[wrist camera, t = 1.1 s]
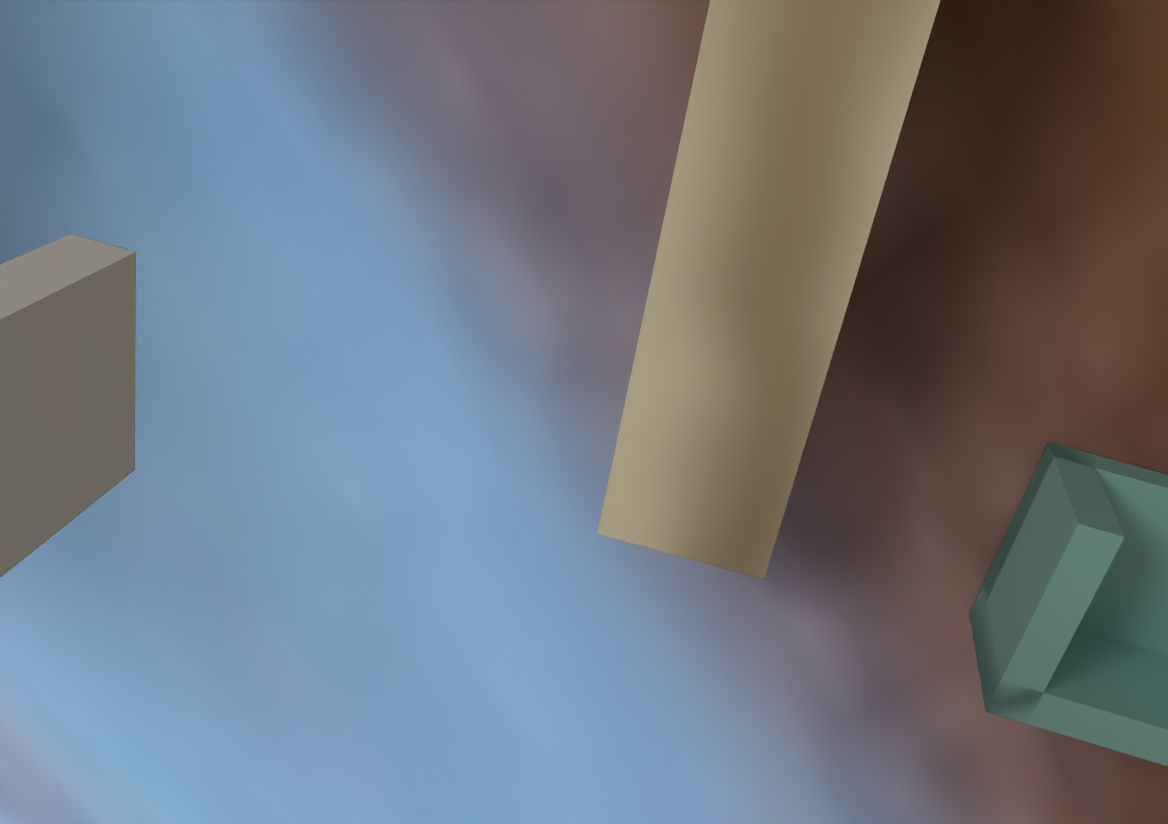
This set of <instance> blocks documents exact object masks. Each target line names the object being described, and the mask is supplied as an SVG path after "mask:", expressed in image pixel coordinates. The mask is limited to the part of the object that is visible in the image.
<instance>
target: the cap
mask: <svg viewBox="0 0 1168 824" xmlns="http://www.w3.org/2000/svg"><path fill="white" fill-rule="evenodd" d="M969 615H970V621H971V627H972V633H973V639H974V645H975V650H976V656H977V662H978V668H979V674H980V680H981V686H982V692H983V698H984V704H985V710H986V712H989V713H993V714H996V715H999V716H1003V717H1006V718H1009V719H1012V720H1016V721H1019V722H1022V723H1026V724H1029V725H1032V726H1036V727H1039V728H1042V729H1046V730H1049V731H1052V732H1056V733H1059V734H1062V735H1066V736H1069V737H1072V738H1076V739H1079V740H1082V741H1086V742H1089V743H1092V744H1096V745H1099V746H1102V747H1106V748H1109V749H1112V750H1116V751H1119V752H1122V753H1125V754H1129V755H1132V756H1135V757H1139V758H1142V759H1145V760H1149V761H1152V762H1155V763H1159V764H1162V765H1165V766H1168V475H1167V474H1163V473H1160V472H1156V471H1152V470H1149V469H1145V468H1141V467H1138V466H1134V465H1130V464H1127V463H1123V462H1119V461H1116V460H1112V459H1108V458H1105V457H1101V456H1097V455H1094V454H1090V453H1086V452H1083V451H1079V450H1075V449H1072V448H1068V447H1065V446H1061V445H1057V444H1054V443H1050V442H1048V444H1047V446H1046V449H1045V451H1044V453H1043V455H1042V457H1041V459H1040V462H1039V464H1038V466H1037V468H1036V470H1035V473H1034V475H1033V477H1032V479H1031V481H1030V483H1029V486H1028V488H1027V490H1026V492H1025V494H1024V496H1023V499H1022V501H1021V503H1020V505H1019V507H1018V510H1017V512H1016V514H1015V516H1014V518H1013V520H1012V523H1011V525H1010V527H1009V529H1008V531H1007V534H1006V536H1005V538H1004V540H1003V542H1002V544H1001V547H1000V549H999V551H998V553H997V555H996V557H995V560H994V562H993V564H992V566H991V568H990V571H989V573H988V575H987V577H986V579H985V581H984V584H983V586H982V588H981V590H980V592H979V595H978V597H977V599H976V601H975V603H974V605H973V608H972V610H971V612H970V614H969Z"/></svg>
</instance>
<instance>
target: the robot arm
mask: <svg viewBox="0 0 1168 824" xmlns="http://www.w3.org/2000/svg"><path fill="white" fill-rule="evenodd" d="M135 299H136V252H134V251H131V250H127V249H124V248H120V247H116V246H113V245H109V244H106V243H102V242H98V241H95V240H91V239H88V238H84V237H80V236H77V235H73V234H69V235H67V236H64V237H62V238H60V239H57V240H55V241H53V242H51V243H48V244H46V245H44V246H41V247H39V248H37V249H34V250H32V251H30V252H28V253H25V254H23V255H21V256H18V257H16V258H14V259H11V260H9V261H7V262H5V263H2V264H0V578H1V577H2V576H3V575H4V574H6V573H7V572H8V571H9V570H11V569H12V568H13V567H14V566H16V565H17V564H18V563H19V562H20V561H22V560H23V559H24V558H25V557H27V556H28V555H29V554H30V553H32V552H33V551H34V550H35V549H37V548H38V547H39V546H40V545H42V544H43V543H44V542H45V541H47V540H48V539H49V538H50V537H52V536H53V535H54V534H55V533H57V532H58V531H59V530H60V529H62V528H63V527H64V526H65V525H67V524H68V523H69V522H70V521H72V520H73V519H74V518H75V517H77V516H78V515H79V514H80V513H81V512H83V511H84V510H85V509H86V508H88V507H89V506H90V505H91V504H93V503H94V502H95V501H96V500H98V499H99V498H100V497H101V496H103V495H104V494H105V493H106V492H108V491H109V490H110V489H111V488H113V487H114V486H115V485H116V484H118V483H119V482H120V481H121V480H123V479H124V478H125V477H126V476H128V475H129V474H130V473H131V472H133V471H134V470H135Z"/></svg>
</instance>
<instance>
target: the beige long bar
mask: <svg viewBox="0 0 1168 824" xmlns="http://www.w3.org/2000/svg"><path fill="white" fill-rule="evenodd" d="M939 3H940V0H710V4H709V8H708V13H707V18H706V23H705V27H704V32H703V37H702V41H701V46H700V51H699V56H698V60H697V65H696V70H695V74H694V79H693V84H692V89H691V93H690V98H689V103H688V108H687V112H686V117H685V122H684V126H683V131H682V136H681V141H680V145H679V150H678V155H677V159H676V164H675V169H674V174H673V178H672V183H671V188H670V192H669V197H668V202H667V207H666V211H665V216H664V221H663V226H662V230H661V235H660V240H659V244H658V249H657V254H656V259H655V263H654V268H653V273H652V277H651V282H650V287H649V292H648V296H647V301H646V306H645V310H644V315H643V320H642V325H641V329H640V334H639V339H638V343H637V348H636V353H635V358H634V362H633V367H632V372H631V377H630V381H629V386H628V391H627V395H626V400H625V405H624V410H623V414H622V419H621V424H620V428H619V433H618V438H617V443H616V447H615V452H614V457H613V461H612V466H611V471H610V476H609V480H608V485H607V490H606V495H605V499H604V504H603V509H602V513H601V518H600V523H599V528H598V532H597V534H599V535H603V536H607V537H610V538H614V539H618V540H622V541H625V542H629V543H633V544H636V545H640V546H644V547H647V548H651V549H655V550H658V551H662V552H666V553H669V554H673V555H677V556H681V557H684V558H688V559H692V560H695V561H699V562H703V563H706V564H710V565H714V566H717V567H721V568H725V569H729V570H732V571H736V572H740V573H743V574H747V575H751V576H754V577H758V578H762V579H764V578H765V575H766V572H767V569H768V565H769V562H770V559H771V555H772V552H773V549H774V546H775V542H776V539H777V536H778V532H779V529H780V526H781V523H782V519H783V516H784V513H785V509H786V506H787V503H788V499H789V496H790V493H791V490H792V486H793V483H794V480H795V476H796V473H797V470H798V467H799V463H800V460H801V457H802V453H803V450H804V447H805V444H806V440H807V437H808V434H809V430H810V427H811V424H812V421H813V417H814V414H815V411H816V407H817V404H818V401H819V398H820V394H821V391H822V388H823V384H824V381H825V378H826V375H827V371H828V368H829V365H830V361H831V358H832V355H833V352H834V348H835V345H836V342H837V338H838V335H839V332H840V329H841V325H842V322H843V319H844V315H845V312H846V309H847V306H848V302H849V299H850V296H851V292H852V289H853V286H854V283H855V279H856V276H857V273H858V269H859V266H860V263H861V260H862V256H863V253H864V250H865V246H866V243H867V240H868V237H869V233H870V230H871V227H872V223H873V220H874V217H875V214H876V210H877V207H878V204H879V200H880V197H881V194H882V191H883V187H884V184H885V181H886V177H887V174H888V171H889V167H890V164H891V161H892V158H893V154H894V151H895V148H896V144H897V141H898V138H899V135H900V131H901V128H902V125H903V121H904V118H905V115H906V112H907V108H908V105H909V102H910V98H911V95H912V92H913V89H914V85H915V82H916V79H917V75H918V72H919V69H920V66H921V62H922V59H923V56H924V52H925V49H926V46H927V43H928V39H929V36H930V33H931V29H932V26H933V23H934V20H935V16H936V13H937V10H938V6H939Z"/></svg>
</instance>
